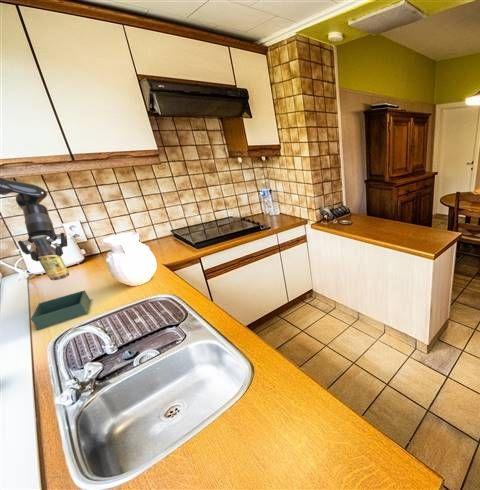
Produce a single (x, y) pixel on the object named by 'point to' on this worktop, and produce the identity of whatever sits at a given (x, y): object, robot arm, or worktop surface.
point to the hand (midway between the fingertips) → (48, 257)
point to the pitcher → (129, 259)
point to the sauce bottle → (50, 259)
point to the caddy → (60, 309)
